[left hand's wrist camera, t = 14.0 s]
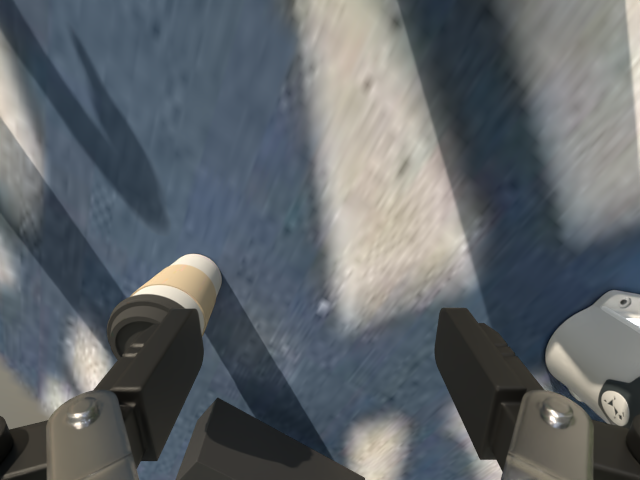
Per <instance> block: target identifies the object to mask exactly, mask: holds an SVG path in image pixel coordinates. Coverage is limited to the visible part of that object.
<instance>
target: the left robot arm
mask: <svg viewBox="0 0 640 480" xmlns="http://www.w3.org/2000/svg"><path fill="white" fill-rule="evenodd" d="M203 355H204V348H203V340H202V333H201V326H200V320H199V313H198V311H197V309H195V308H173V309H171V310H170V311H169V312H168V314H167V315H166V316H165V318H164V319H163V320H162V321H161V323H160V324H153V325H152V326H150V327H149V328H147V329H146V330H144V331H143V332H141V333H140V334H139V335H138V336H137V337H136V339H135V340H134V341H133V342H132V344H131V345H130V347H128V348H127V350H126V351H125V352H124V353H123V355H122V357H120V358H119V359H118V361H117V362H116V363H115V364H114V366H113V367H112V368H111V369H110V371H109V372H108V373H107V374H106V375H105V377H104V378H103V379H102V380H101V382H100V383H99V384H98V385H97V386H96V388H95V389H94V390H93V391H89V392H86V393H83V394H80V395H78V396H75V397H74V398H72V399H70V400H68V401H67V402H65V403H64V404H62V405H61V406H60V407H59V408H58V409H57V410H56V411H55V412H54V413H53V414H52V415H51V417H50V418H49V420H47V421H43V422H39V423H35V424H31V425H27V426H23V427H18V428H15V429H10V430H9V429H8V426H7V424H6V421H5V419H4V418H3V417H1V416H0V480H139V477H138V473H137V470H136V469H137V467H138V465H139V463H140V461H157V460H158V458H159V456H160V454H161V452H162V450H163V448H164V445H165V443H166V441H167V439H168V437H169V435H170V433H171V430H172V428H173V426H174V424H175V422H176V420H177V418H178V415H179V413H180V411H181V409H182V407H183V405H184V403H185V400H186V398H187V396H188V394H189V392H190V390H191V388H192V385H193V383H194V381H195V379H196V377H197V375H198V373H199V370H200V368H201V365H202V362H203ZM435 360H436V364H437V367H438V369H439V371H440V374H441V376H442V378H443V380H444V382H445V384H446V387H447V389H448V391H449V393H450V395H451V397H452V400H453V402H454V404H455V406H456V408H457V410H458V413H459V415H460V417H461V419H462V421H463V423H464V426H465V428H466V430H467V432H468V434H469V436H470V439H471V441H472V443H473V445H474V447H475V449H476V452H477V454H478V456H479V458H480V460H497V462H498V464H499V466H500V468H501V470H502V471H503V473H502V477H501V480H640V414H639V415H637V416H635V418H634V419H633V422H632V424H631V426H630V429H628V428H624V427H620V426H616V425H612V424H607V423H603V422H599V421H595V420H591V418H590V417H589V415H588V414H587V413H586V412H585V411H584V410H583V409H582V408H581V407H580V406H579V405H578V404H576V403H575V402H573V401H572V400H570V399H568V398H566V397H565V396H562V395H560V394H557V393H554V392H551V391H546V390H544V389H543V388H542V386H541V385H540V384H539V383H538V382H537V380H536V379H535V378H534V377H533V375H532V374H531V373H530V372H529V370H528V369H527V368H526V367H525V365H524V364H523V363H522V362H521V360H520V359H519V358H518V357H517V356H515V353H514V352H513V351H512V349H511V348H510V347H508V346H507V343H506V342H505V341H504V339H503V338H502V337H501V336H500V334H499V333H498V332H496V331H495V330H493V329H492V328H490V327H489V326H487V325H486V324H484V323H478V322H477V321H476V320H475V318H474V317H473V316H472V314H471V313H470V312H469V310H468V309H467V308H442V309H441V310H440V314H439V320H438V327H437V334H436V341H435Z"/></svg>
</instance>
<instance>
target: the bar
mask: <svg viewBox="0 0 640 480" xmlns="http://www.w3.org/2000/svg"><path fill="white" fill-rule="evenodd" d="M176 480H365V478H364V477H362V476H360V475H359V474H357V473H355V472H353V471H351V470H349V469H348V468H346V467H344V466H342V465H340V464H338V463H337V462H335V461H333V460H331V459H329V458H327V457H326V456H324V455H322V454H320V453H318V452H316V451H315V450H313V449H311V448H309V447H307V446H305V445H304V444H302V443H300V442H298V441H296V440H294V439H293V438H291V437H289V436H287V435H285V434H283V433H282V432H280V431H278V430H276V429H274V428H272V427H271V426H269V425H267V424H265V423H263V422H261V421H260V420H258V419H256V418H254V417H252V416H251V415H249V414H247V413H245V412H243V411H241V410H240V409H238V408H236V407H234V406H232V405H230V404H229V403H227V402H225V401H223V400H221V399H219V398H217V399H216V400H215V401H214V402H213V403H212V405H211V406H210V407H209V408H208V409H207V410H206V411H205V412H204V414H203V415H202V416H201V417H200V418H199V419H198V420H197V423H196V426H195V429H194V431H193V434H192V437H191V440H190V442H189V445H188V448H187V450H186V453H185V456H184V459H183V461H182V464H181V467H180V469H179V472H178V475H177V478H176Z"/></svg>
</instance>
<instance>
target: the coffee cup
mask: <svg viewBox="0 0 640 480" xmlns="http://www.w3.org/2000/svg"><path fill="white" fill-rule="evenodd" d="M221 283H222V277H221V273H220V270H219V268H218V267H217V265H216V264H215V263H214V262H213V261H212V260H210V259H209V258H207V257H205V256H202V255H198V254H189V255H185V256H183V257H181V258H179V259H178V260H177V261H176V262H174V263H173V264H172V265H171V266H169V267H167V268H165V269H164V270H162V271H161V272H160V273H158V274H157V275H156V276H155V277H153V278H152V279H151V280H149V281H148V282H147V283H146V284H144V285H143V286H142V287H140V288H139V289H138V290H137V291H135V292H134V293H133V294H132V295H131V296H130V297H129V298H127V299H125V300H123V301H122V302H120V303H119V304H118V305H117V306H116V307H115V308H114V310H113V312H112V314H111V316H110V319H109V321H108V325H107V337H108V341H109V344H110V346H111V349H112V351H113V354H114V355H115V357H116V358H117V360H118V359H119V358H120V357H122V355H123V353H124V352H125V351H126V350H127V348H128V347H130V345H131V344H132V342H133V341H134V340H135V339H136V337H137V336H138V335H139V334H140V333H141V332H143V331H144V330H146V329H147V328H149V327H150V326H152V325H153V324H160V323H161V321H162V320H163V319H164V318H165V316H166V315H167V314H168V312H169V311H170V310H171V309H173V308H195V309H197V311H198V313H199V320H200V326H201V333H202V336H203V334H204V332H205V329H206V326H207V324H208V321H209V318H210V316H211V313H212V310H213V307H214V305H215V302H216V297H217V295H218V292H219V290H220V287H221Z"/></svg>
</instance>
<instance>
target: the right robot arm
mask: <svg viewBox="0 0 640 480" xmlns="http://www.w3.org/2000/svg"><path fill="white" fill-rule="evenodd" d="M545 361H546V365H547V368H548V370H549V372H550V373H551V374H552V375H553V377H555V378H556V379H557V380H559V381H560V382H561V383H563V384H564V385H565V386H567V387H568V390H569V391H570V393H571V395H572V396H573V397H575V398H576V399H577V400H578V401H581V402H584V403H585V404H587V405H588V406H589V407H590V408H591V409H592V410H593V411H594V412H595V413H596V414H598V415H599V416H600V417H601V418H602V419H603V420H604V421H605V422H606V423H608V424H612V425H616V426H620V427H624V428H628V429H630V426H631V424H632V422H633V419H634V418H635V416H637V415H639V414H640V294H635V293H629V292H624V291H618V290H611V291H609V292H607V293H605V294H604V295H603V296H602V297H600V298H599V299H598V300H597V301H596V302H595V303H594V304H593V305H592V306H590V307H588V308H587V309H584V310H582V311H580V312H578V313H577V314H575V315H573V316H572V317H570V318H569V319H567V320H566V321H565V322H564V323H563V324H561V325H560V326H559V328H558V329H557V330H556V331H555V332H554V334H553V335H552V337H551V338H550V340H549V342H548V345H547V348H546V353H545Z"/></svg>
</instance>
